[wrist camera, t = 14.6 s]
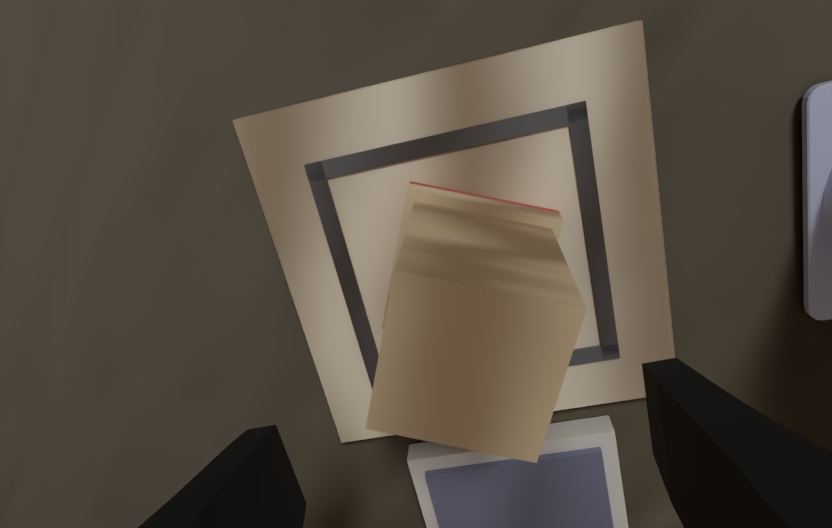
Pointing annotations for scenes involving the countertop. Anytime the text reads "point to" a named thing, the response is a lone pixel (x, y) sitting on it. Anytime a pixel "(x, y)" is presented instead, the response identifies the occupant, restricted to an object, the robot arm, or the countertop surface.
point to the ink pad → (524, 482)
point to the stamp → (475, 324)
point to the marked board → (479, 174)
